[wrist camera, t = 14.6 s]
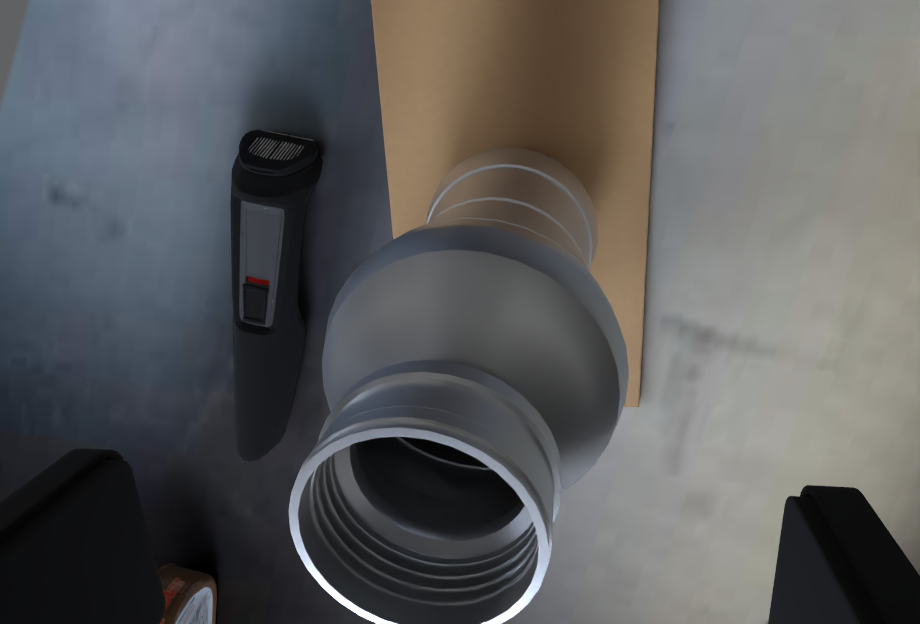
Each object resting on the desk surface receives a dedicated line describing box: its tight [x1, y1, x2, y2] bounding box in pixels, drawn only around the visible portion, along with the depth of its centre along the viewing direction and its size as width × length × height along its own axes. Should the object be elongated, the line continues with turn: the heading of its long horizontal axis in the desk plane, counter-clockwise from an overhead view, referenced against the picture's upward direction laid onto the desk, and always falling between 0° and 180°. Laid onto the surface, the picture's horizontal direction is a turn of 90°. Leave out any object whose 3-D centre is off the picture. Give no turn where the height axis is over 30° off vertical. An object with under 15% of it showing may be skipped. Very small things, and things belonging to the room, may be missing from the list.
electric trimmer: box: [231, 130, 323, 461], centre depth 29 cm, size 4×16×3 cm, turn 170°
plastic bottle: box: [289, 148, 629, 624], centre depth 18 cm, size 6×7×20 cm
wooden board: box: [371, 0, 659, 407], centre depth 27 cm, size 11×18×1 cm, turn 3°
